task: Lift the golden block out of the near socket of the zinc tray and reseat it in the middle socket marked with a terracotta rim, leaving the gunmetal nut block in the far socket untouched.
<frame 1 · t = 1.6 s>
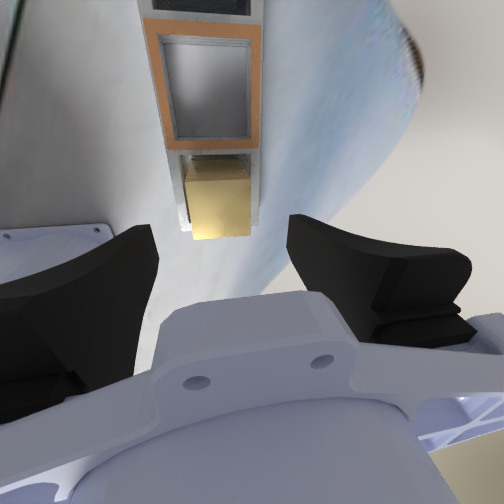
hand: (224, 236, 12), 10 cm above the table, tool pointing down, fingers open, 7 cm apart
zinc tray: (209, 95, 16), on the table
golden block: (217, 183, 20), resting in zinc tray
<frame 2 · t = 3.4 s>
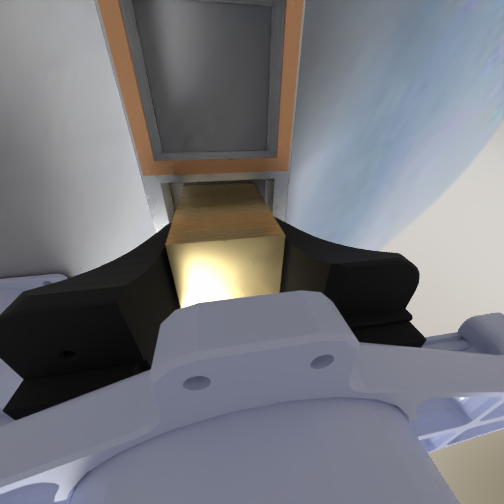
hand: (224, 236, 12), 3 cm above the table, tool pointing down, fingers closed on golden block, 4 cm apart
zinc tray: (211, 87, 10), on the table
golden block: (221, 216, 14), resting in zinc tray, touching gripper
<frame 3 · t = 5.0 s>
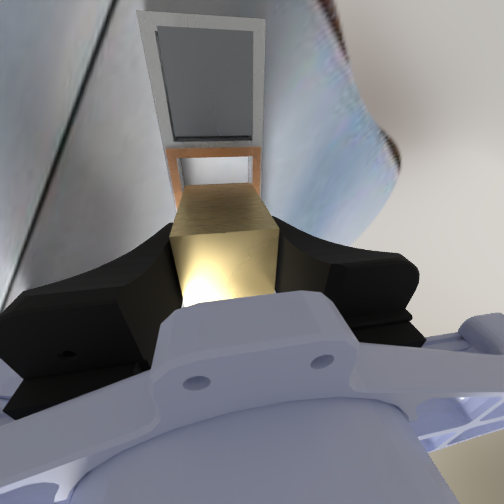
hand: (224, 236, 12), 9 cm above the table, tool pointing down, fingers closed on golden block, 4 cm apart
zinc tray: (217, 186, 19), on the table
gunmetal nut block: (209, 94, 16), resting in zinc tray
golden block: (221, 214, 14), point 6 cm above the table, touching gripper
when the fingers open (4 cm above the table, at t = 6.7 s): golden block stays where it is, resting in zinc tray.
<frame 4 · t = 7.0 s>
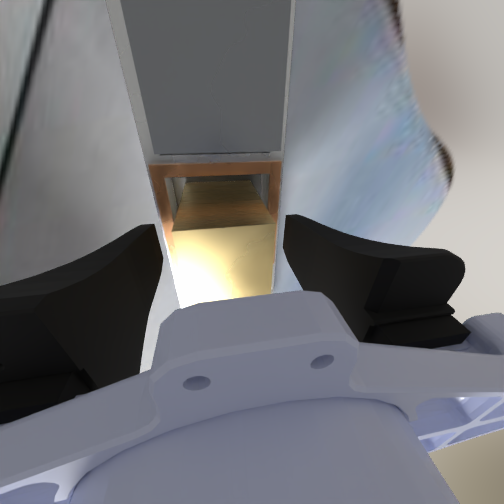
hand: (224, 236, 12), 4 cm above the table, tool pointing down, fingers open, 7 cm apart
zinc tray: (220, 209, 15), on the table
gunmetal nut block: (211, 89, 11), resting in zinc tray
golden block: (220, 211, 15), resting in zinc tray
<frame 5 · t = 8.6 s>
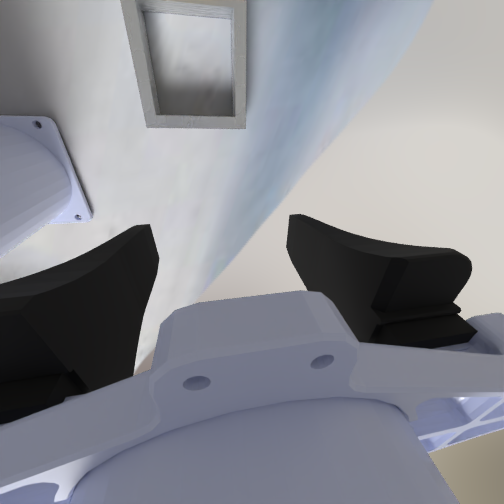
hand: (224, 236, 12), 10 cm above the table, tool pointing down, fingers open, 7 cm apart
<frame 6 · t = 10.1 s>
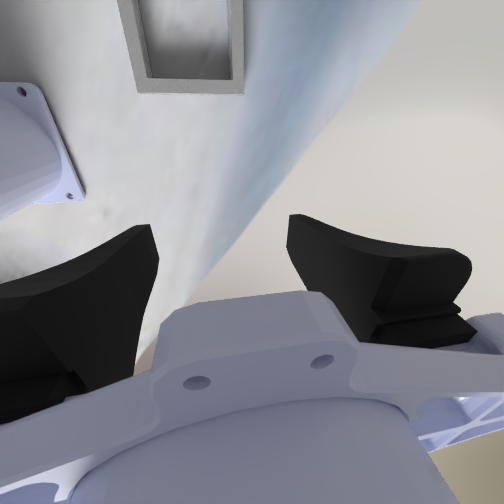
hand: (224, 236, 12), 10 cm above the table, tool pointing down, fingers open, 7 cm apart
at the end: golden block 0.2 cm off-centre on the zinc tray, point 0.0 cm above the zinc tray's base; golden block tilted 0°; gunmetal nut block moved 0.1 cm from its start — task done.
